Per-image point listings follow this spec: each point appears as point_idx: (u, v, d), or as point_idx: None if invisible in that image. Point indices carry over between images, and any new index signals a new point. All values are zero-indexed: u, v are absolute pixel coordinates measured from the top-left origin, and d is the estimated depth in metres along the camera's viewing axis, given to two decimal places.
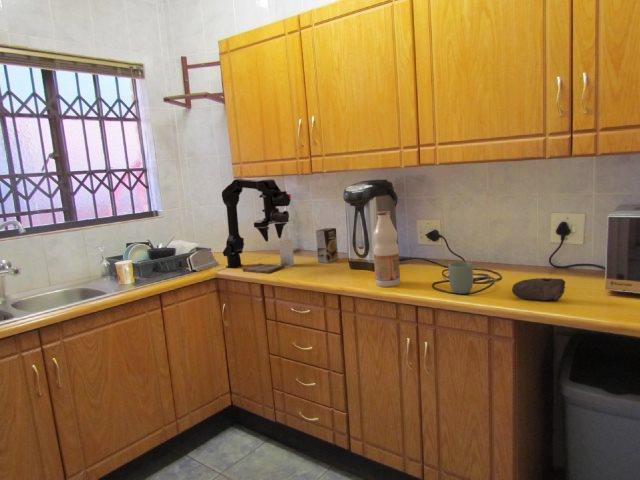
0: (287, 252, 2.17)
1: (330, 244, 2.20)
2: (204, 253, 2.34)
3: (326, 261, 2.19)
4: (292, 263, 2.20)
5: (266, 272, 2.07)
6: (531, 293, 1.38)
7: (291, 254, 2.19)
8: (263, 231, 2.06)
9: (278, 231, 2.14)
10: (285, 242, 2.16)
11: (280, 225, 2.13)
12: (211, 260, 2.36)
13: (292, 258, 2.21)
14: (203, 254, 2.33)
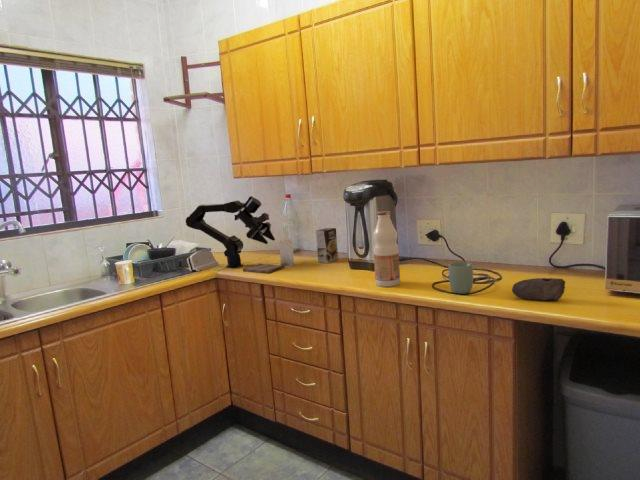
0: (287, 252, 2.17)
1: (330, 244, 2.20)
2: (204, 253, 2.34)
3: (326, 261, 2.19)
4: (292, 263, 2.20)
5: (266, 272, 2.07)
6: (531, 293, 1.38)
7: (291, 254, 2.19)
8: (258, 237, 2.16)
9: (269, 236, 2.26)
10: (285, 242, 2.16)
11: (267, 230, 2.26)
12: (211, 260, 2.36)
13: (292, 258, 2.21)
14: (203, 254, 2.33)
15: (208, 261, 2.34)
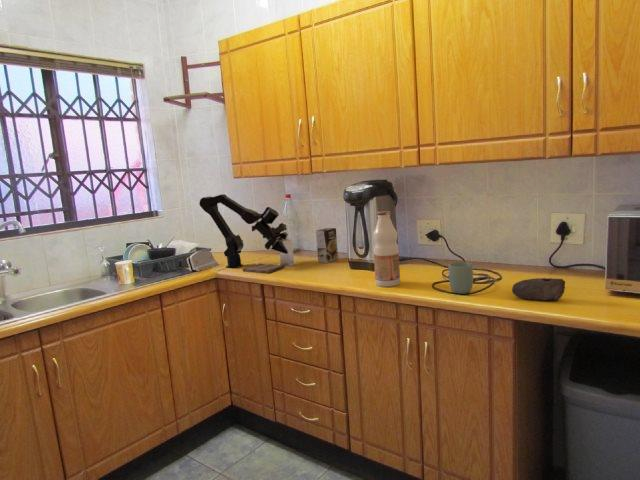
0: None
1: (330, 244, 2.20)
2: (204, 253, 2.34)
3: (326, 261, 2.19)
4: (292, 263, 2.20)
5: (266, 272, 2.07)
6: (531, 293, 1.38)
7: (291, 254, 2.19)
8: (278, 247, 2.16)
9: None
10: (285, 242, 2.16)
11: None
12: (211, 260, 2.36)
13: (292, 258, 2.21)
14: (202, 254, 2.33)
15: (208, 261, 2.34)
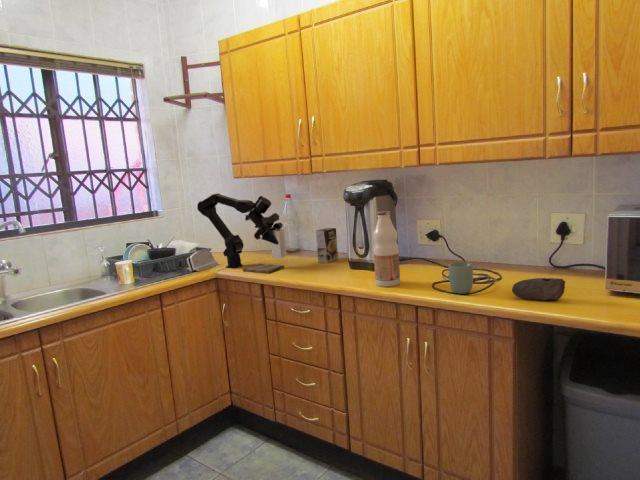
0: None
1: (330, 244, 2.20)
2: (204, 253, 2.34)
3: (326, 261, 2.19)
4: (283, 254, 2.15)
5: (266, 272, 2.07)
6: (531, 293, 1.38)
7: (282, 245, 2.14)
8: (268, 238, 2.12)
9: None
10: (276, 232, 2.12)
11: None
12: (211, 260, 2.36)
13: (284, 249, 2.15)
14: (202, 254, 2.33)
15: (208, 261, 2.34)
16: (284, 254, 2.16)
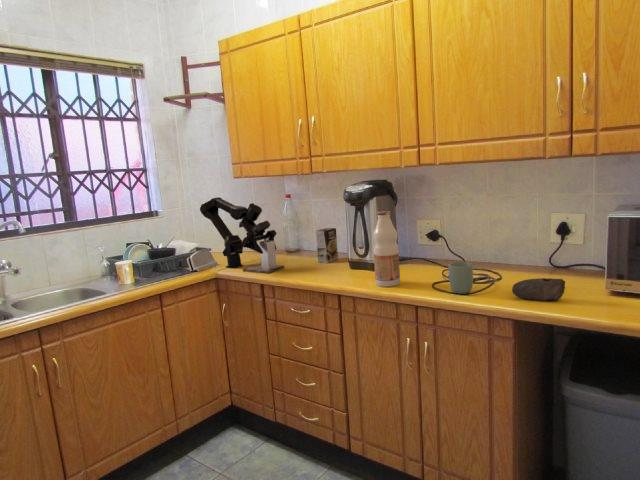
0: (266, 254, 2.09)
1: (330, 244, 2.20)
2: (204, 253, 2.34)
3: (326, 261, 2.19)
4: (273, 266, 2.11)
5: (266, 272, 2.07)
6: (531, 293, 1.38)
7: (271, 257, 2.10)
8: (254, 246, 2.08)
9: None
10: (264, 244, 2.08)
11: (270, 239, 2.16)
12: (210, 260, 2.36)
13: (273, 261, 2.11)
14: (202, 254, 2.33)
15: (208, 261, 2.34)
16: (273, 266, 2.12)
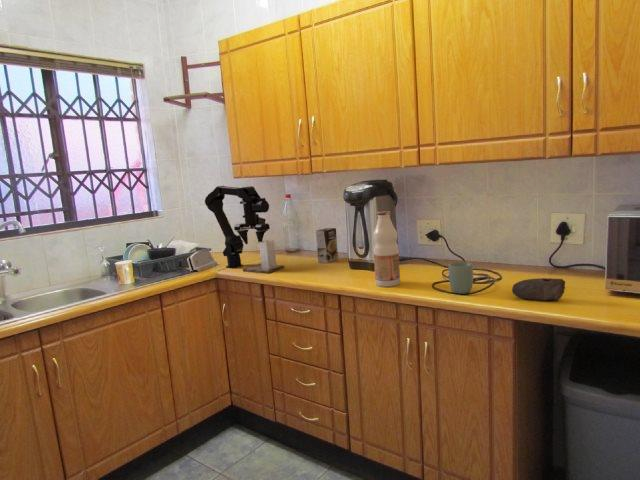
0: (265, 254, 2.09)
1: (330, 244, 2.20)
2: (203, 253, 2.34)
3: (326, 261, 2.19)
4: (272, 266, 2.11)
5: (266, 272, 2.07)
6: (531, 293, 1.38)
7: (271, 257, 2.10)
8: (260, 235, 2.14)
9: (245, 237, 2.21)
10: (264, 244, 2.08)
11: (246, 231, 2.21)
12: (210, 260, 2.36)
13: (273, 261, 2.11)
14: (202, 254, 2.33)
15: (207, 261, 2.34)
16: (273, 266, 2.12)
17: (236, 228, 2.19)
